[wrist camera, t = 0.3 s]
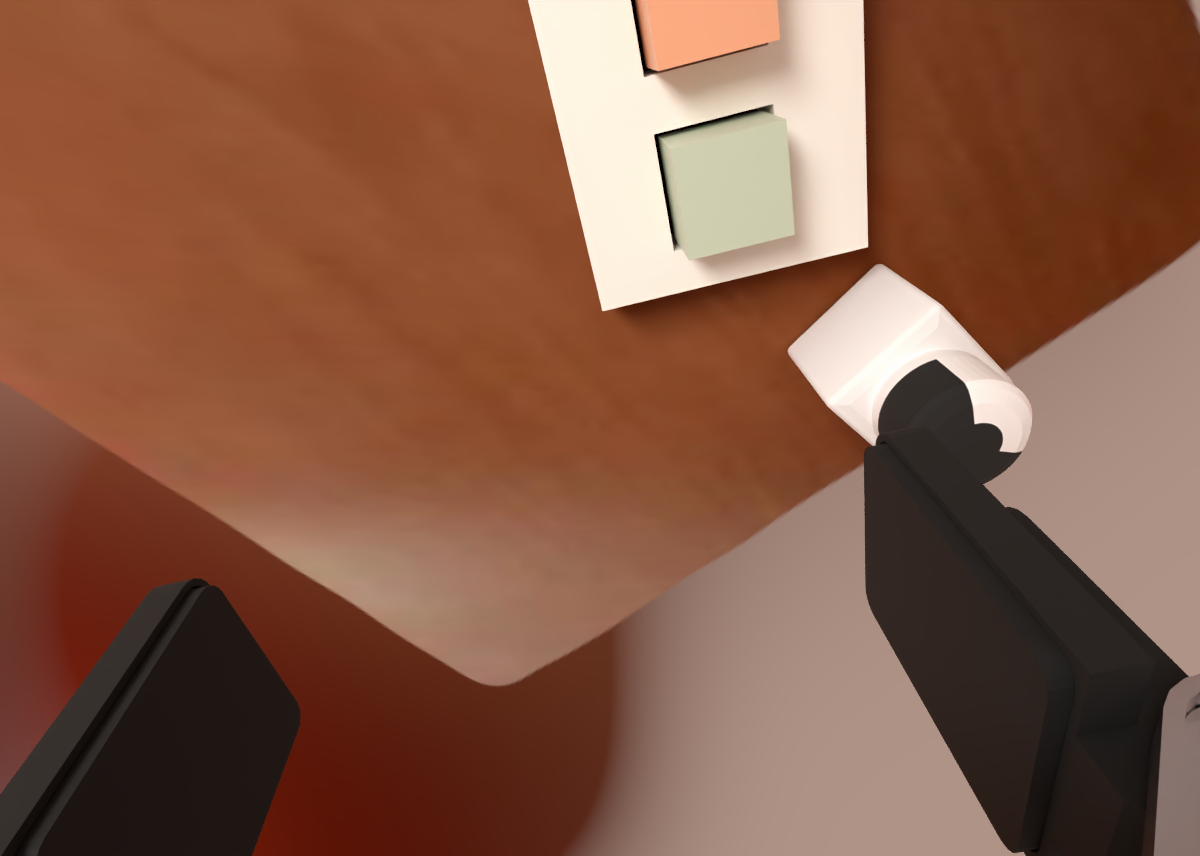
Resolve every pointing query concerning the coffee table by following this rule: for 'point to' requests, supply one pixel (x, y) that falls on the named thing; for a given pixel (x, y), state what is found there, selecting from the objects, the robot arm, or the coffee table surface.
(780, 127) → the key sage
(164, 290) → the coffee table surface
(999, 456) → the medicine bottle
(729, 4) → the key terracotta
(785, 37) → the key board
